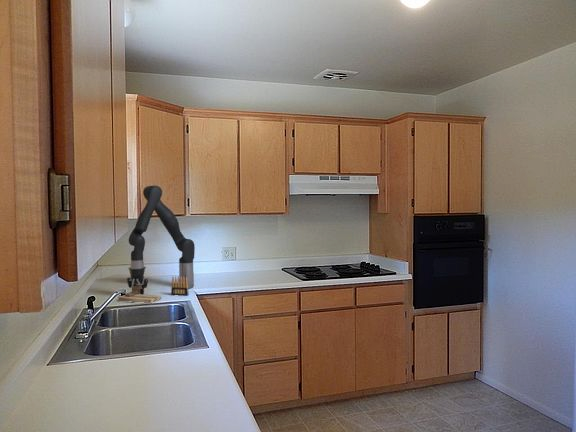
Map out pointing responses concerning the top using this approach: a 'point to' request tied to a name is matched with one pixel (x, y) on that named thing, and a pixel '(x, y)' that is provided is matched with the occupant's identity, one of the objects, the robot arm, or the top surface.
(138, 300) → the board
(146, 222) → the robot arm
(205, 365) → the top surface
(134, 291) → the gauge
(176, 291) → the ammunition clip
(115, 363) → the top surface
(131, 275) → the plant pot
